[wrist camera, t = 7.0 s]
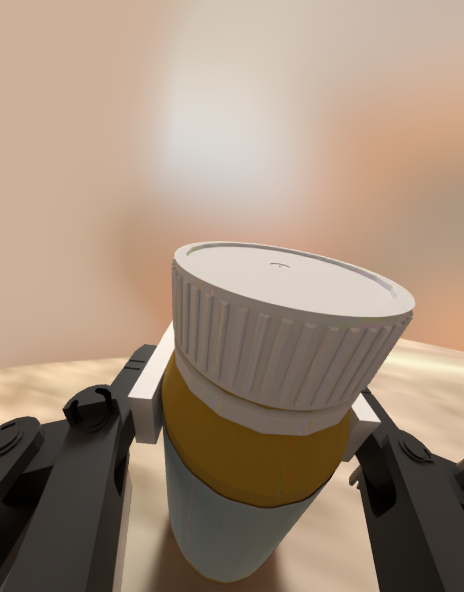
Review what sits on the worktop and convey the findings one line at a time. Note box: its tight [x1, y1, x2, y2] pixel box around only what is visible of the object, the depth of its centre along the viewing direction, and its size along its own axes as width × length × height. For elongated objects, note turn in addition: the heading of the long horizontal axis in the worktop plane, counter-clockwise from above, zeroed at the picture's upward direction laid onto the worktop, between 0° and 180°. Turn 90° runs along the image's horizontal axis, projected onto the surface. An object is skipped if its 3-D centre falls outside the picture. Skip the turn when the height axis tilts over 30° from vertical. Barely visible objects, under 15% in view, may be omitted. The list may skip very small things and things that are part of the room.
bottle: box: [161, 241, 415, 584], centre depth 8 cm, size 7×7×15 cm
